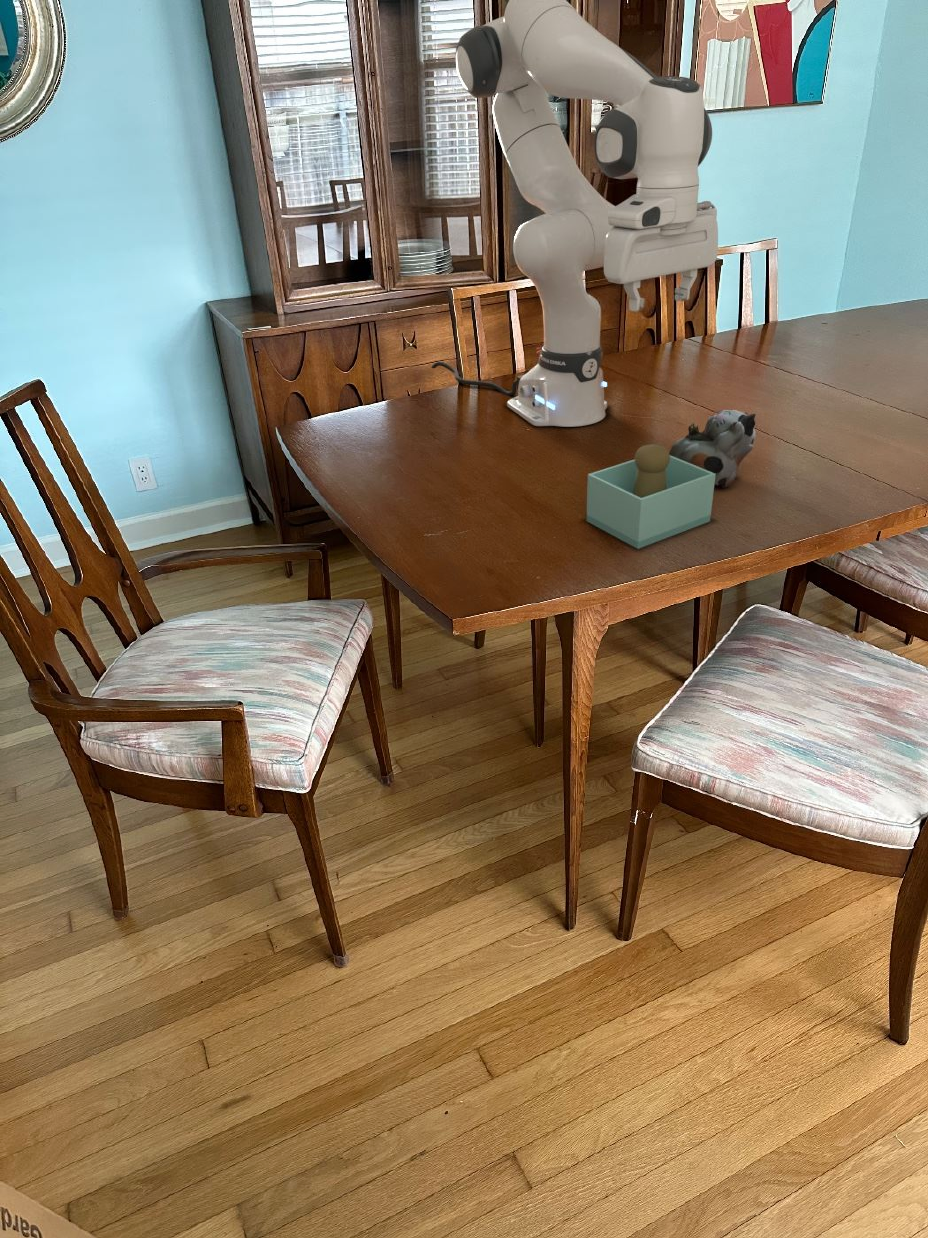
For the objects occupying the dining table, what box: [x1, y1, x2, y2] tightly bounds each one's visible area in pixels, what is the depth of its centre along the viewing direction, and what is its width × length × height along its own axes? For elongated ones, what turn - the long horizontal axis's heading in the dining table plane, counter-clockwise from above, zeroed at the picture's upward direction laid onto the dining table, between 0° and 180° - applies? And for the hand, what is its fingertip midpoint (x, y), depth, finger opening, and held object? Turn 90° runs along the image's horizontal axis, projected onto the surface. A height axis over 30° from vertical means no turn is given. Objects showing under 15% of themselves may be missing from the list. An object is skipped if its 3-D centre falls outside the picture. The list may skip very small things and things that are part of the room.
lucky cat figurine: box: [669, 409, 757, 489], centre depth 145 cm, size 15×12×14 cm
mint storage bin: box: [586, 455, 716, 550], centre depth 132 cm, size 8×15×12 cm
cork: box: [633, 444, 670, 498], centre depth 131 cm, size 6×6×11 cm
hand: (659, 305), depth 132 cm, fingers open, 8 cm apart
